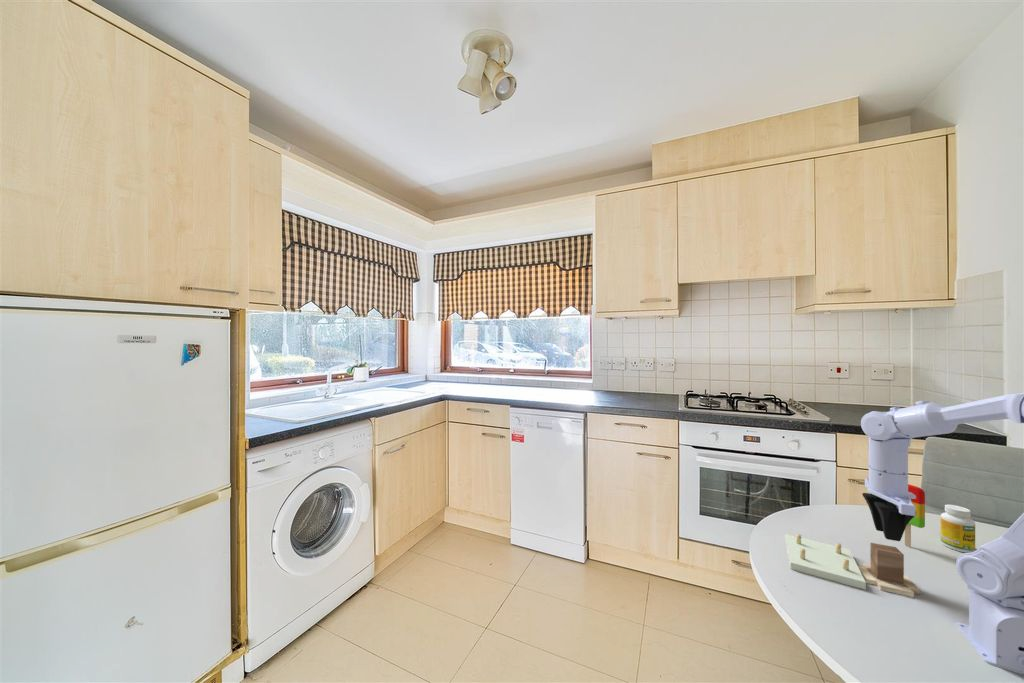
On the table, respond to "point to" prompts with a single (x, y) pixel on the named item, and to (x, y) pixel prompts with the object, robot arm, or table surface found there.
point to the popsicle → (920, 512)
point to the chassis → (823, 561)
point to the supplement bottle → (958, 529)
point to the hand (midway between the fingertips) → (887, 535)
